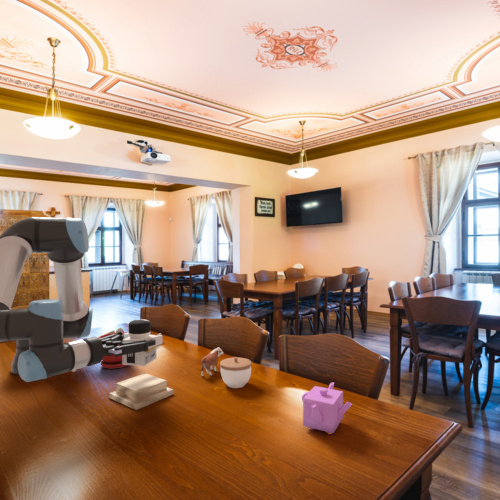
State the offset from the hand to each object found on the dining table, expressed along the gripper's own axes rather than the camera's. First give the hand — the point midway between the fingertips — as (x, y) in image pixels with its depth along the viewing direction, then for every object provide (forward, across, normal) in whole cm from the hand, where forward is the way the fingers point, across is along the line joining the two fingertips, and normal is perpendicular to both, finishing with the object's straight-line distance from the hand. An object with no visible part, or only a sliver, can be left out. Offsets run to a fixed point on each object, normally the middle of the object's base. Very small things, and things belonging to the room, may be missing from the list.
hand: (151, 336), depth 117 cm
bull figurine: (+25, +3, -18) cm, 31 cm away
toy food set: (+28, -54, -19) cm, 63 cm away
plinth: (-4, 0, -18) cm, 18 cm away
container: (-4, 0, -7) cm, 8 cm away
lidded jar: (+22, +18, -18) cm, 33 cm away
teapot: (+14, +55, -18) cm, 59 cm away
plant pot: (+8, -33, -18) cm, 39 cm away
